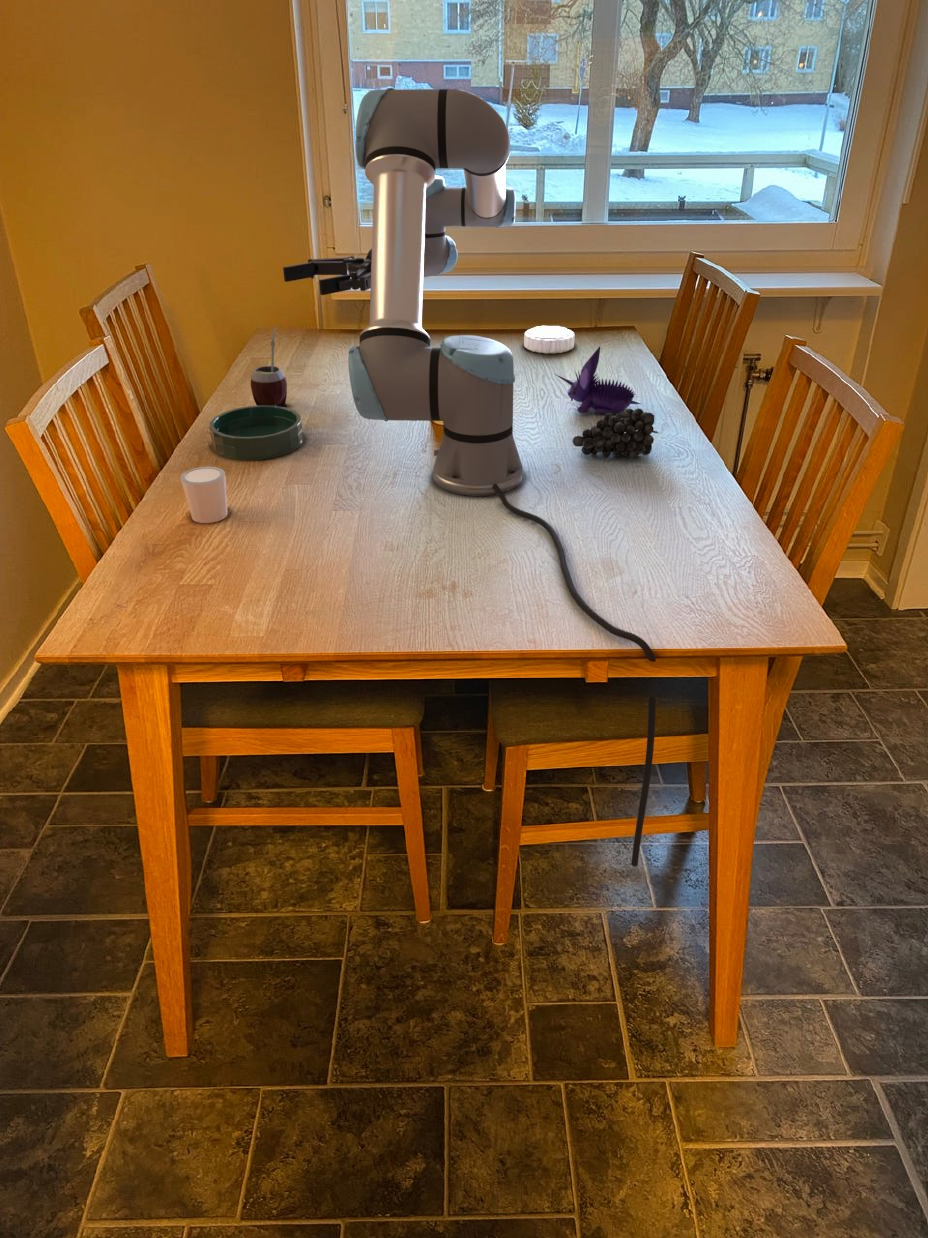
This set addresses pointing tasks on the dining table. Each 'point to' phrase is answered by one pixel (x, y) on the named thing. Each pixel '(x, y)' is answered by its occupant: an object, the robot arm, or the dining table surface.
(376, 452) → the dining table surface
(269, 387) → the mate gourd
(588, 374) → the creature
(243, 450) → the green round tray
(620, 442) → the fruit
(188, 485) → the white cylinder
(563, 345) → the white lid
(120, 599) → the dining table surface
